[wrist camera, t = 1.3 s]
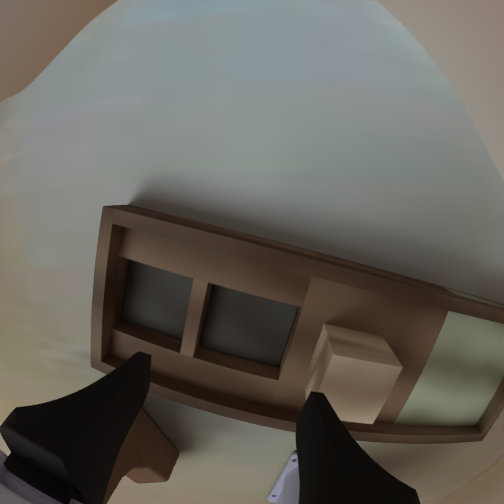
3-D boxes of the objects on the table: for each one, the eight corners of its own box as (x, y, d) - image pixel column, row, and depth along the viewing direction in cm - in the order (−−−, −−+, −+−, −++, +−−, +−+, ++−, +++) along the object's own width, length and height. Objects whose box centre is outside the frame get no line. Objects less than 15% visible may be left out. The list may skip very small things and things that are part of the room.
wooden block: (181, 453, 26) (120, 591, 8) (150, 458, 27) (85, 578, 9) (129, 388, 25) (21, 523, 7) (100, 397, 26) (-2, 511, 8)
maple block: (360, 387, 21) (372, 424, 16) (304, 377, 21) (307, 415, 16) (382, 336, 20) (402, 367, 15) (324, 323, 20) (333, 354, 16)
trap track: (468, 421, 22) (481, 440, 19) (110, 349, 25) (91, 366, 21) (524, 310, 20) (544, 322, 16) (127, 204, 22) (103, 205, 19)
